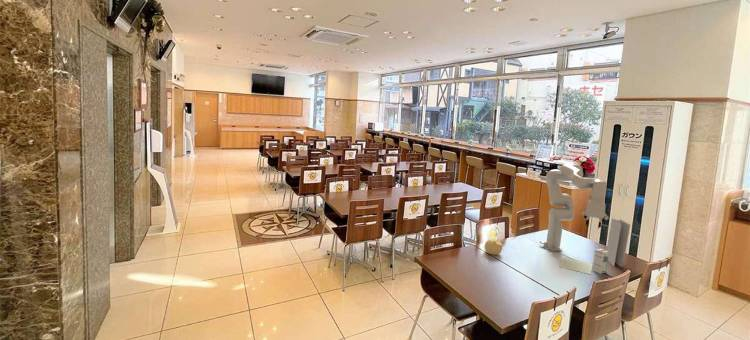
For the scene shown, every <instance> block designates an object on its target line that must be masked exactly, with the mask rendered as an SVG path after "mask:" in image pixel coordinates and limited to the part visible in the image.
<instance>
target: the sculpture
mask: <svg viewBox="0 0 750 340" xmlns="http://www.w3.org/2000/svg"><path fill="white" fill-rule="evenodd" d="M484 250H485V252H486V253H487V254H489V255H492V256H498V255H499V254H501V253H502V250H503V244H502V242H501V241H500V240H499V239H496V238H490V239H488V240H486V241H485V243H484Z"/></svg>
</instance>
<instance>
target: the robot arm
mask: <svg viewBox="0 0 750 340" xmlns="http://www.w3.org/2000/svg"><path fill="white" fill-rule="evenodd" d="M583 170H584V169H583V166H581V165H580V164H578V163H564V164H562V165H561V166H560V168H559V169H551V170H549V171H548V172H547V173H546V175H545V181H546V185H547V188H548V189H547V190H548V197H549V198H548V199H549V204H550V205H551V206H554V207H552V208H550V209H549V210H548V226H547V227H548V228H547V234H546V235H547V236H546V240H539V243H540V244H542V245H543V248H544V249H546V250H548V251H552V252H562V250H563V248H562V247H561V241H562V236H563V235H562V234H563V228H564V227H563V224H562V223H561V222H562V221H563V222H570V221H572V220H574V218H575V209H574V200H573V197H572V196H571V195H570V194H568V193H562V187H561V185H560V184H559V183H558V182H571V184H572V185H573V186H574V187H576V188H578V189H579V190H591V193H590V196H588V197H587V199H588V202H587V205H586V209H585V210H584V211H582V212H581V213H580V214H581V215H582V216H583V218H584V219H585V225H586V227H589V223H590V218H594V219H598V220H599V221H598V225H597V229H600V228H602V223H603V222H605V221H608V220H609V219H610V218H609V216H608V215H607V213H606V203H605V198H606V192H607V187H608V186H607V185H608V184H607V183H608V182H607V181H605V180H602V179H599V178H596V177H584V172H583Z"/></svg>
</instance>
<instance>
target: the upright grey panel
mask: <svg viewBox="0 0 750 340" xmlns="http://www.w3.org/2000/svg"><path fill="white" fill-rule="evenodd" d="M630 229H631V224H630V223H628V222H626V221H625V220H623V219H622V218H619V220H618V219H616V218H613V217H611V222H610V227H609V233H608V239H607V245H606V250H607V251H609V255H608V263H610V264H611V265H612V266H613V267H615V265H617V266H619V267H621V268H624V263H625V257H626V250H627V245H628V239H629V235H630ZM615 263H616V264H615Z"/></svg>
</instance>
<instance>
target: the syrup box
mask: <svg viewBox="0 0 750 340" xmlns="http://www.w3.org/2000/svg"><path fill="white" fill-rule="evenodd" d="M608 255H609V251H607V249H603V248H597V249H594V254H593V263H592V264H593V265H592V271H593V272H595V273H597V274H604V273H606V272H607V268H608V263H609V261H608Z"/></svg>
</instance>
